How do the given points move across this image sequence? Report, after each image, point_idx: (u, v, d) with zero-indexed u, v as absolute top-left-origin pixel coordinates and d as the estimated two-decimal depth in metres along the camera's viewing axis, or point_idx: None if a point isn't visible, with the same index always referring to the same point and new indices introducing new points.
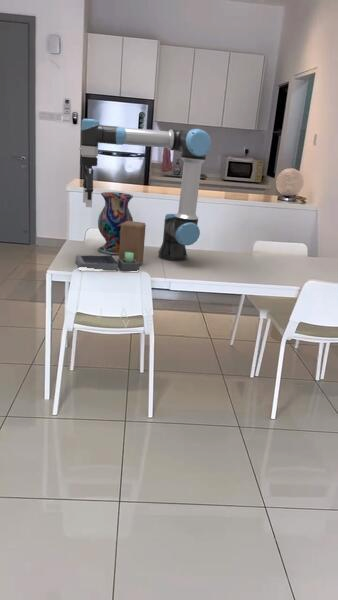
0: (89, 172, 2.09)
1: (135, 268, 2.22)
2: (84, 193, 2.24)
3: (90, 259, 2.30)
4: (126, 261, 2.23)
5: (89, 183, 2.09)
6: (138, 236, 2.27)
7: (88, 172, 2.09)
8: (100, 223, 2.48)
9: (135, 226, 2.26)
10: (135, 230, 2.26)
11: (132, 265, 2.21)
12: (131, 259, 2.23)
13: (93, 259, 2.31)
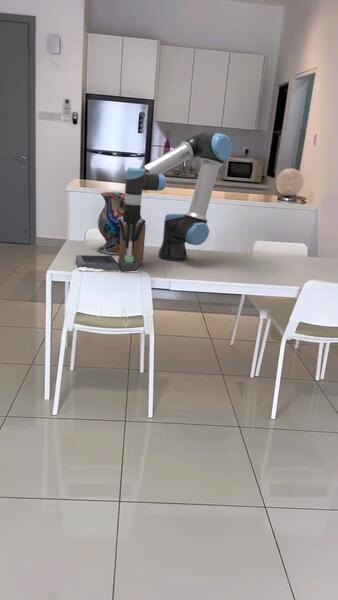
0: (119, 222, 2.17)
1: (135, 268, 2.22)
2: None
3: (90, 259, 2.30)
4: None
5: (121, 232, 2.19)
6: None
7: None
8: (100, 223, 2.48)
9: None
10: (135, 230, 2.26)
11: (132, 265, 2.21)
12: (131, 262, 2.23)
13: (93, 259, 2.31)
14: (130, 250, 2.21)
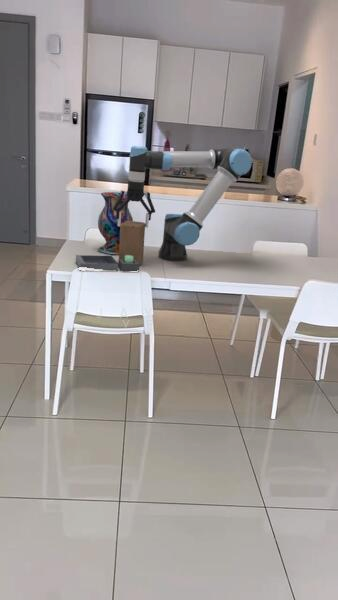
0: (120, 193, 2.24)
1: (135, 268, 2.22)
2: (146, 218, 2.32)
3: (90, 259, 2.30)
4: None
5: (115, 203, 2.25)
6: (138, 236, 2.27)
7: (120, 193, 2.25)
8: (100, 223, 2.48)
9: (134, 226, 2.26)
10: (135, 230, 2.26)
11: (132, 265, 2.21)
12: (131, 262, 2.23)
13: (93, 259, 2.31)
14: (147, 222, 2.31)
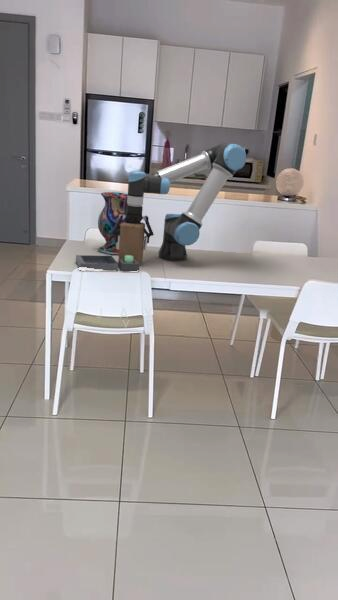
0: (119, 217, 2.28)
1: (135, 268, 2.22)
2: (144, 240, 2.36)
3: (90, 259, 2.30)
4: None
5: (114, 227, 2.28)
6: (138, 236, 2.27)
7: (119, 217, 2.28)
8: (100, 223, 2.48)
9: (135, 226, 2.26)
10: (135, 230, 2.26)
11: (132, 265, 2.21)
12: (131, 262, 2.23)
13: (93, 259, 2.31)
14: (145, 245, 2.35)
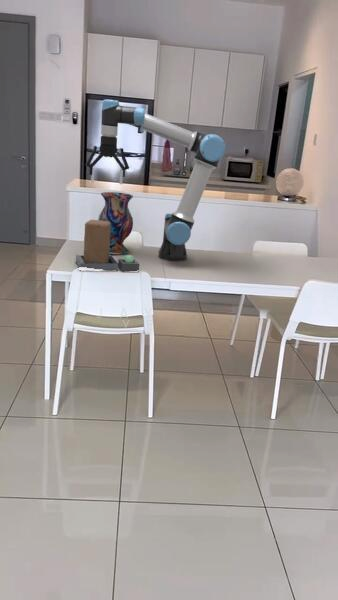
0: (93, 149, 2.22)
1: (135, 268, 2.22)
2: (120, 174, 2.31)
3: None
4: None
5: None
6: (104, 236, 2.15)
7: (93, 149, 2.23)
8: None
9: (100, 225, 2.14)
10: (101, 230, 2.15)
11: (132, 265, 2.21)
12: (131, 262, 2.23)
13: None
14: (121, 178, 2.29)
